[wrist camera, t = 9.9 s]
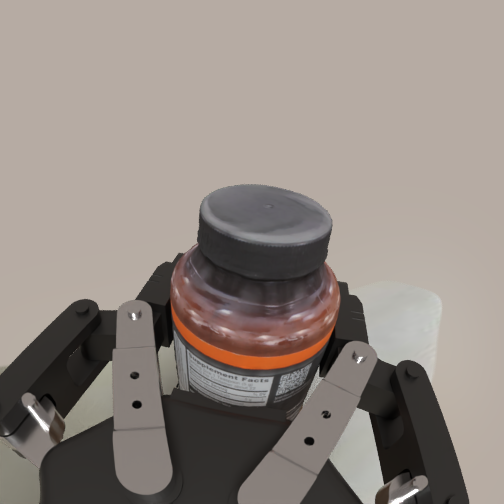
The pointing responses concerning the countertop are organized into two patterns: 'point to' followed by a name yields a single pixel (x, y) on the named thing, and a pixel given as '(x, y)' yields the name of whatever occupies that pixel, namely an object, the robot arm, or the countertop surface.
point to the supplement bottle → (254, 298)
